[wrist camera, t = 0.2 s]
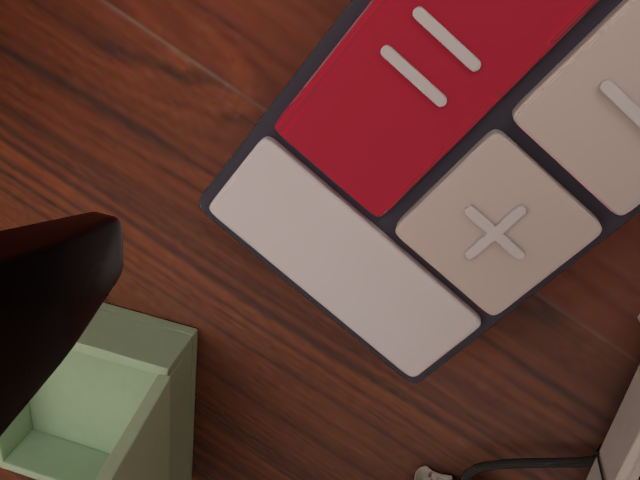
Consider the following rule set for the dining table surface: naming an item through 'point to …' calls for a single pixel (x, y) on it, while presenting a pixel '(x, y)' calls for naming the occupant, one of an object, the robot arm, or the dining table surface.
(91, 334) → the case
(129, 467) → the cover
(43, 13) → the dining table surface
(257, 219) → the calculator
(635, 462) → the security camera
